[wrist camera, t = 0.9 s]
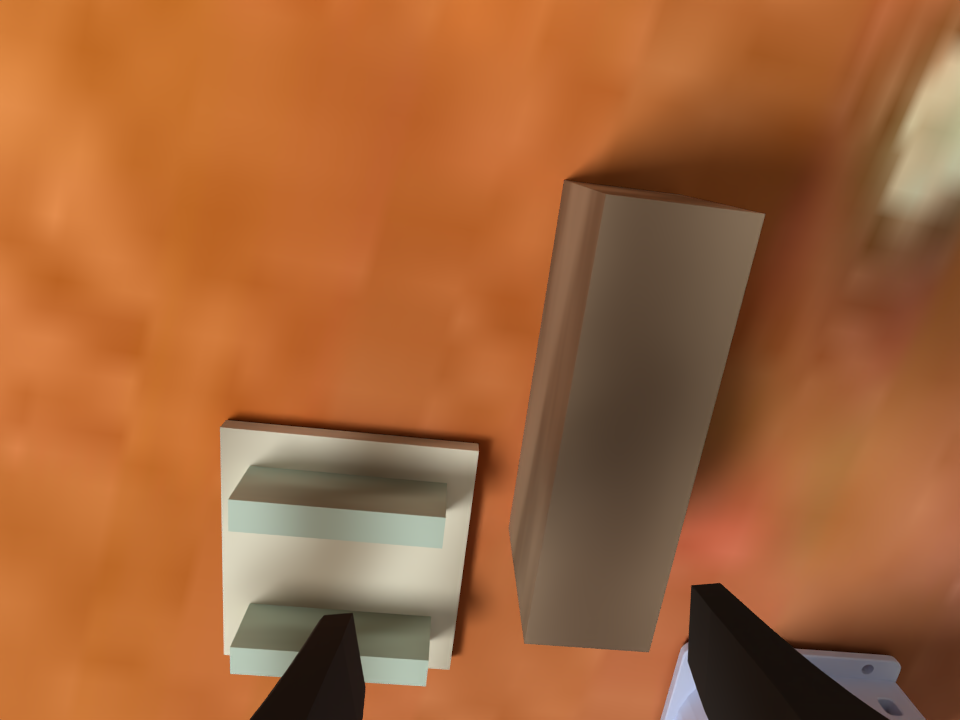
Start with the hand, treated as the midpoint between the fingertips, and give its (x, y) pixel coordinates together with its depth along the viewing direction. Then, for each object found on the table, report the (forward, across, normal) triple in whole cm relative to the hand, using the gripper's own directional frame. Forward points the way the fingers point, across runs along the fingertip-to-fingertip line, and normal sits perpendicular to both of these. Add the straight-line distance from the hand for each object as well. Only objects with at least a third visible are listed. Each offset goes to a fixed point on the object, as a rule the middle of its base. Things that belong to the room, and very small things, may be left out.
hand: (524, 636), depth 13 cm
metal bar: (+10, -3, -2) cm, 11 cm away
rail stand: (+10, +6, +4) cm, 12 cm away
